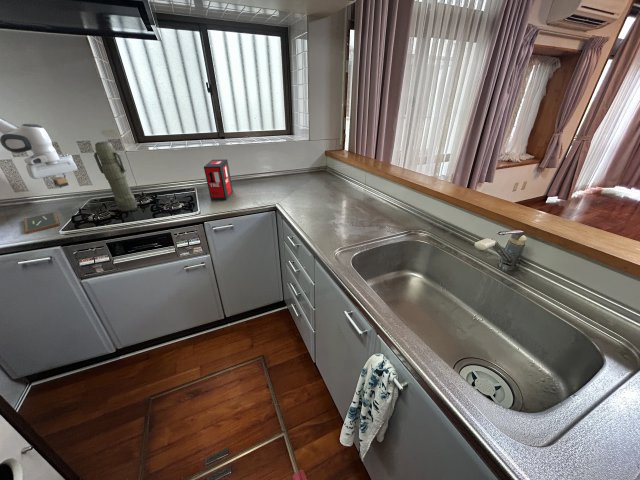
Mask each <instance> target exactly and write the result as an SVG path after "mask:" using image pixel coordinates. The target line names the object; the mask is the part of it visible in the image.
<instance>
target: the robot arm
mask: <svg viewBox="0 0 640 480" xmlns="http://www.w3.org/2000/svg"><path fill="white" fill-rule="evenodd" d="M0 133H1V134H2V135H1V136H0V145H1V146H2V147H3V148H4V149H5V150H7V151H8V152H11V153H15V154H23V153H26V152H28V151H31V152H32V153H33V154H32V155H30V156H28V157H26V158H24V159H23V161H24V163H25V164H26V166H25V169H26V171H27V173H28V175H29V177H30V178H31V179H34V180H40V179H43V178H45V179H46V180H48V181H49V182H50V183H51V184H52V185H54V184H57V183H56V181H55V180H52V177H53V176H58V175H63V178H66V180H67V182H68V176H69V175H68V173H71V172H77V171H78V166H77V165H76V163H75V161H74V158H73V156H72V155H71V154H68V153H65V154H58V152H57V150H56V148H55V147H54V146H53V141H52V139H51V137H50V136H49V134H48V132H47V130H46V129H45V128H44V127H43V126H42V125H39V124H35V123H23V124H21V125H20V126H17V125H16V124H13V123H11V122H9V121H7V120H5V119H4V118H2V117H0Z"/></svg>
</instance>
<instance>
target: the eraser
mask: <svg viewBox="0 0 640 480" xmlns="http://www.w3.org/2000/svg"><path fill="white" fill-rule="evenodd" d="M51 179H52V180H55V181H56V183H57V184H53V186H55V187H57V188H65V187H68V186H69V182H68V181H67V180H68V179H67V180H66V178H64V177H62V176H57V177H53V178H52V177H51Z"/></svg>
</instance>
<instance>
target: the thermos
mask: <svg viewBox="0 0 640 480" xmlns="http://www.w3.org/2000/svg"><path fill="white" fill-rule="evenodd" d="M94 148H95V152H94V154H93V157H94V159H95V162H96V164H97V167H98V169H99V171H100V173H101V174H103V175H104V177H105V179H106V180H107V182H108V185H109V186H110V189H111V192H112V193H113V199H114V201H115V204H116V206H117V208H118V210H119V211H120V210H121V211H120V212H128V211H129V212H130V211H133V210H135V209H137V208H138V205H137V201H136V198H135V196H134V194H133V193H132V191H131V188H130V185H129V183H128V180H127V175H126V172H127V169H126V166H125V163H124V159H123V156H122V154H121V153H120V152H119V151H116V149H115V146H114V145H113V144H112V143H111V142H110V141H97V142H96V143H95V144H94Z"/></svg>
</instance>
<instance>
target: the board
mask: <svg viewBox="0 0 640 480" xmlns="http://www.w3.org/2000/svg"><path fill="white" fill-rule="evenodd" d="M23 223H24V232H25V234H26V235H28V234H31V233H35V232H39V231H43V230H47V229H51V228H56V227H59V226H61V224H60V221H59V217H58V215H57V212H56V211H51V212H47V213H42V214H38V215H37V214H36V215H33V216H29V217H24V219H23Z"/></svg>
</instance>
